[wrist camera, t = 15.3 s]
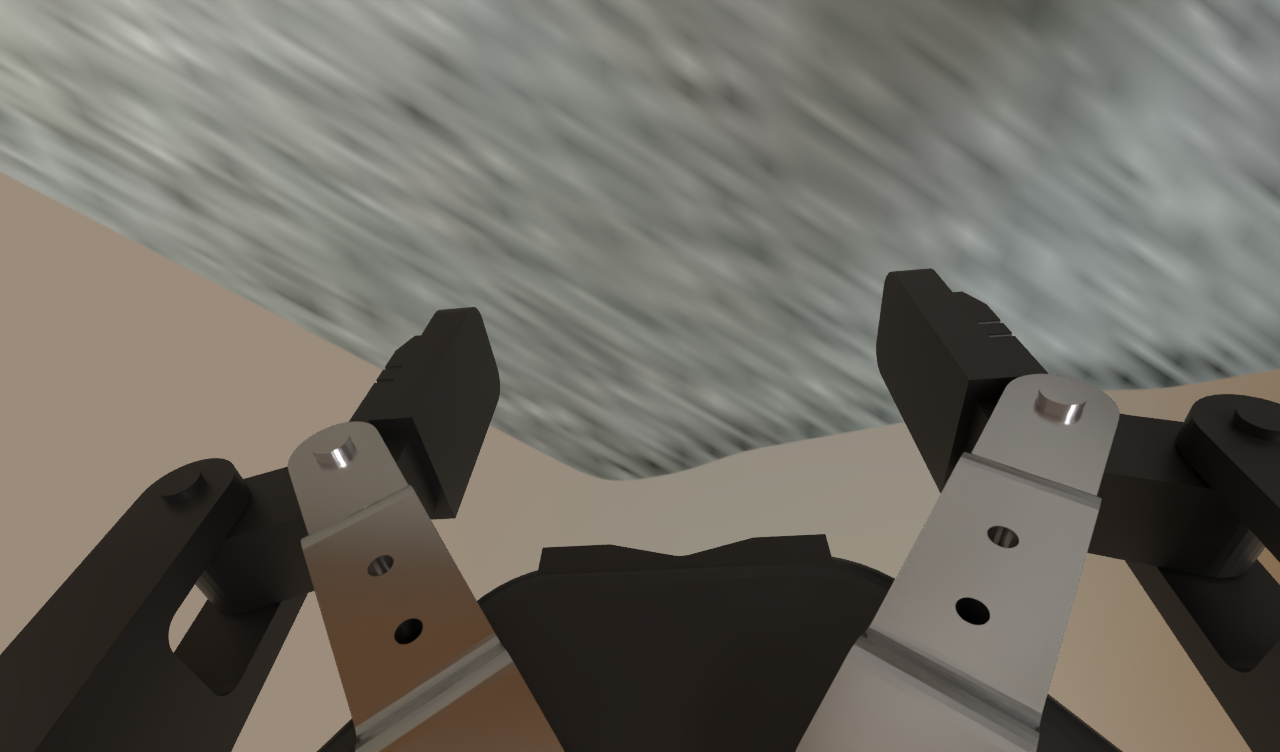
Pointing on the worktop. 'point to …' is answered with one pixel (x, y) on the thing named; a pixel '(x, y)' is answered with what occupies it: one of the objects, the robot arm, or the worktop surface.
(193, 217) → the worktop surface
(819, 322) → the worktop surface
